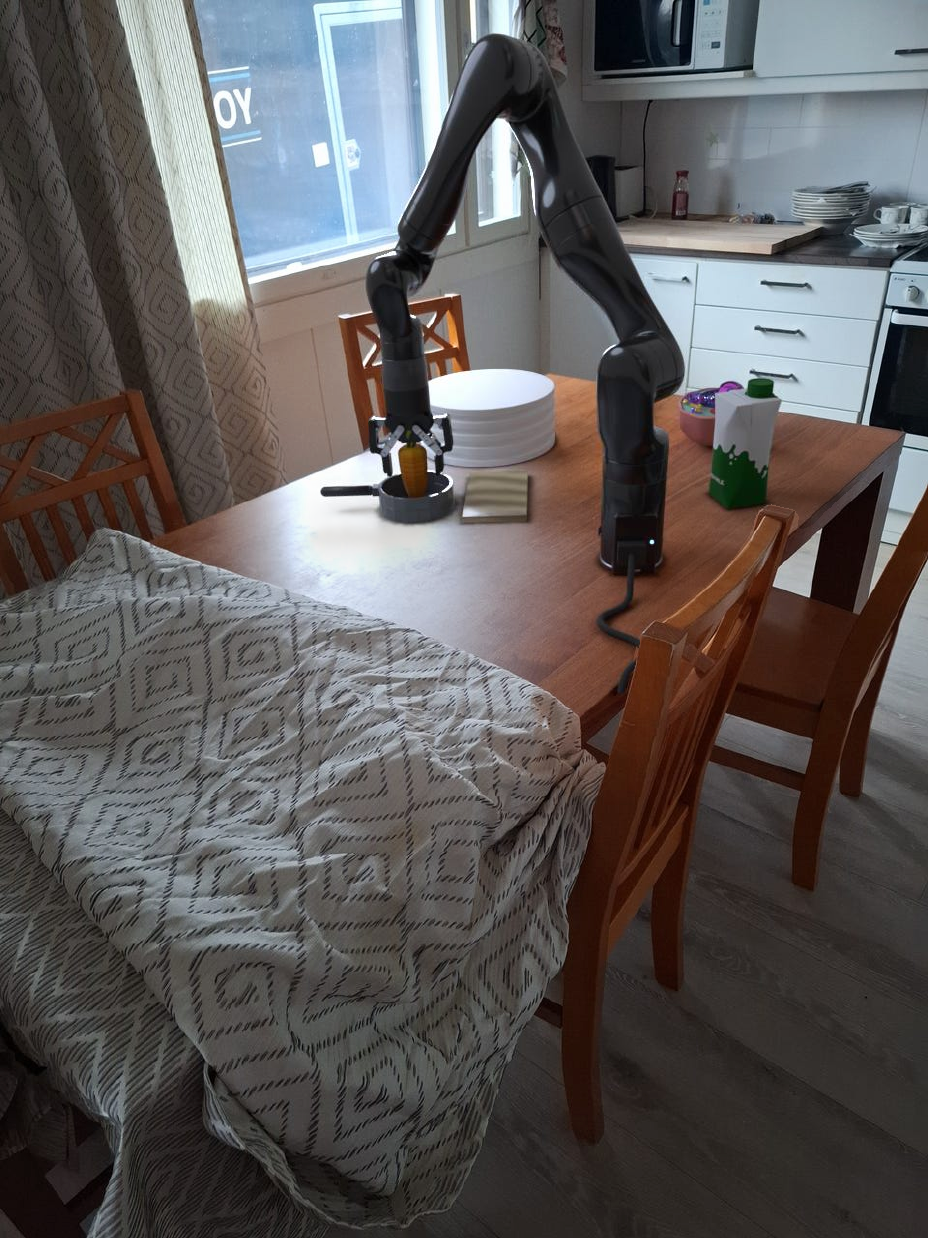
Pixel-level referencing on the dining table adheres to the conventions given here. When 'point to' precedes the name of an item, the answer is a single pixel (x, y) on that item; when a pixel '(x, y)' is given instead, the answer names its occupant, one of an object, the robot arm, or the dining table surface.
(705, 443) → the cell model
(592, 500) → the dining table surface
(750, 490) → the milk carton
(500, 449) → the plate stack
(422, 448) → the carrot
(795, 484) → the dining table surface
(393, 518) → the pan
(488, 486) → the board
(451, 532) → the dining table surface
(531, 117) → the robot arm
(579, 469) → the dining table surface
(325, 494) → the pan handle
